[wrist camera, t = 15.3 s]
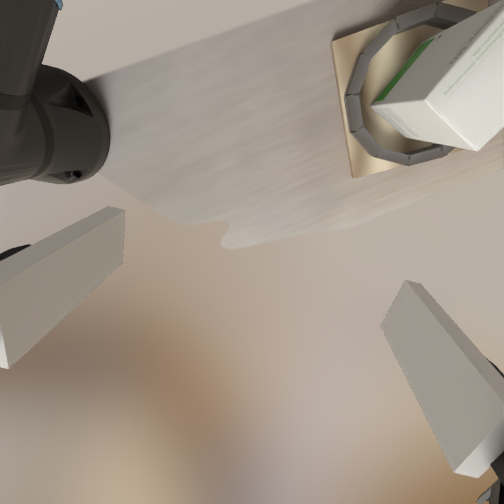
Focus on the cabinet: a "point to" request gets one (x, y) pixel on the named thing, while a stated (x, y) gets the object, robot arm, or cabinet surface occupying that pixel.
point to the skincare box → (451, 85)
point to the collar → (379, 75)
